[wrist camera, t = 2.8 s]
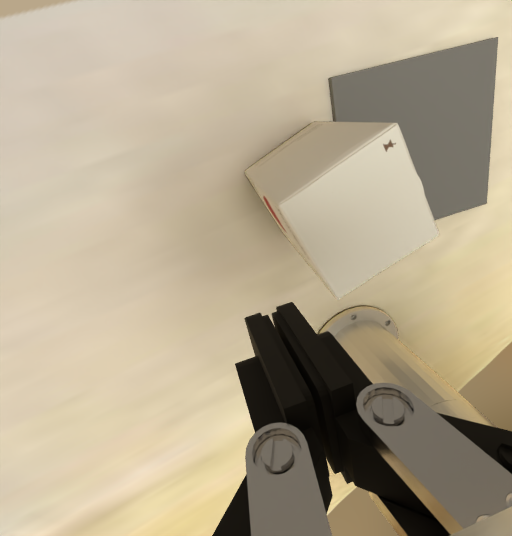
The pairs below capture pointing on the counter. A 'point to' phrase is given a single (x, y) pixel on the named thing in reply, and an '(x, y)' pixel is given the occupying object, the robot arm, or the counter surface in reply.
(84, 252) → the counter surface
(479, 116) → the mat
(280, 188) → the supplement box
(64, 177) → the counter surface
